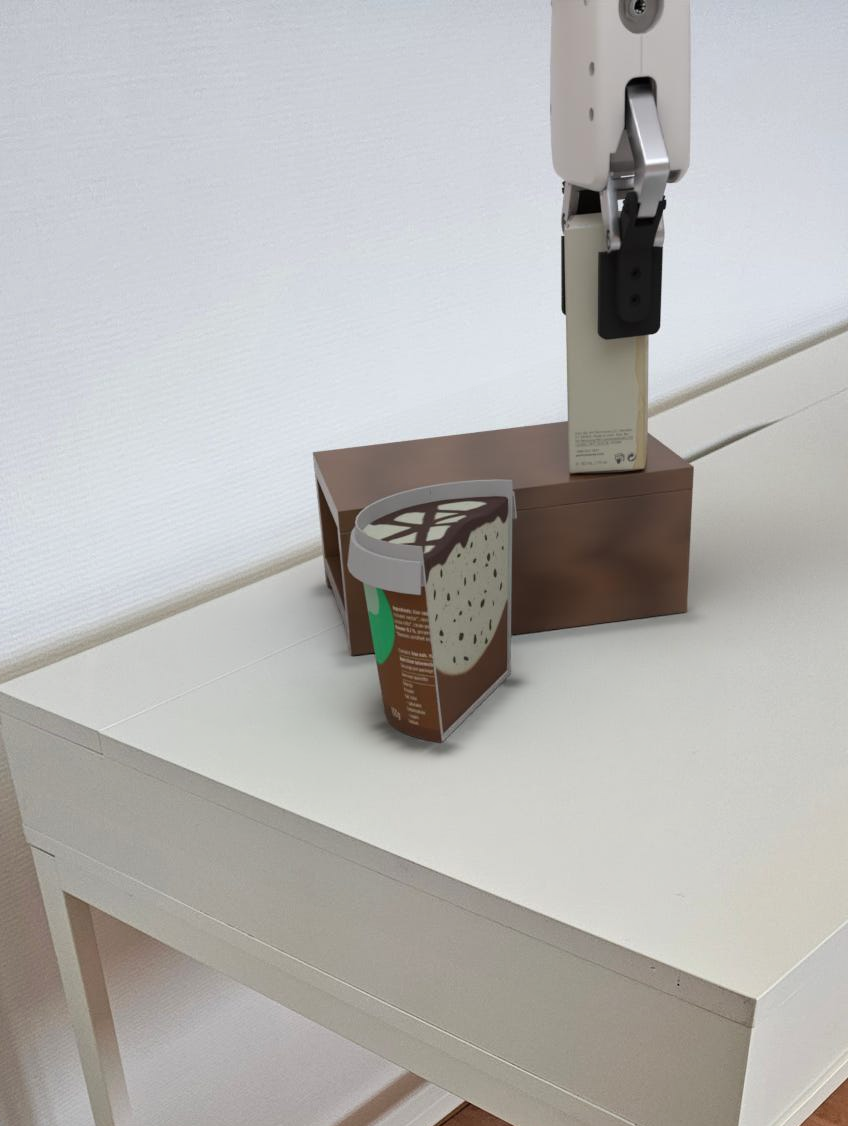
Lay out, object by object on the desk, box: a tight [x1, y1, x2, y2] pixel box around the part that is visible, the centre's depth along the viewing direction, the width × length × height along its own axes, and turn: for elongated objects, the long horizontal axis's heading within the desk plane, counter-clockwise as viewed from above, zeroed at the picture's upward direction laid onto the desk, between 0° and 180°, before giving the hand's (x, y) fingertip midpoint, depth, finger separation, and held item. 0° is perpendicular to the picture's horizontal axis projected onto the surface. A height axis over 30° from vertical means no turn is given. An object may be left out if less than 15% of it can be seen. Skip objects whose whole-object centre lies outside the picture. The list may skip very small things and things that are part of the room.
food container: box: [347, 480, 517, 743], centre depth 72 cm, size 12×6×10 cm, turn 154°
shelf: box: [312, 420, 695, 656], centre depth 85 cm, size 20×14×8 cm
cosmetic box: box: [563, 210, 650, 473], centre depth 77 cm, size 6×4×12 cm
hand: (608, 321), depth 76 cm, fingers closed on cosmetic box, 7 cm apart
